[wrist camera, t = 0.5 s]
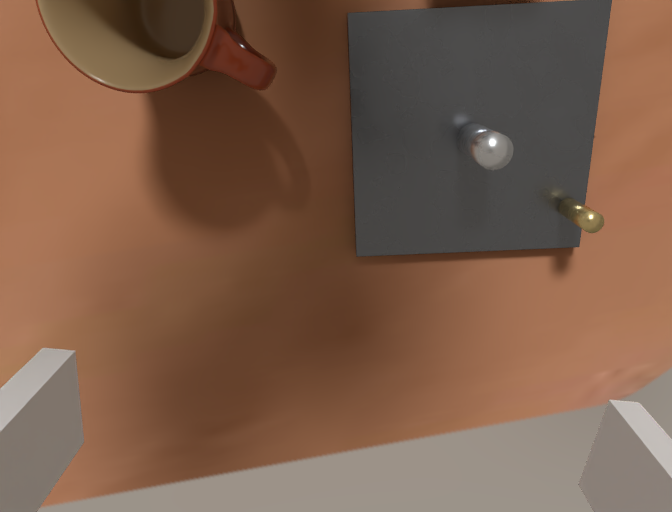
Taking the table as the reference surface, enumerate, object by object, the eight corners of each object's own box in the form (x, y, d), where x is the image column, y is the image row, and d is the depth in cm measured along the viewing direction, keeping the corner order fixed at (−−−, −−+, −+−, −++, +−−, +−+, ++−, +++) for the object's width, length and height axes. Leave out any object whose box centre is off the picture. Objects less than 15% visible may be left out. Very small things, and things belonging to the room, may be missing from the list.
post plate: (347, 14, 33) (348, 3, 27) (604, 0, 33) (663, -14, 27) (356, 252, 40) (359, 286, 33) (573, 242, 39) (616, 275, 33)
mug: (101, 42, 34) (8, 33, 25) (151, -88, 32) (68, -155, 22) (257, 132, 36) (227, 157, 27) (316, 18, 34) (307, -1, 24)
